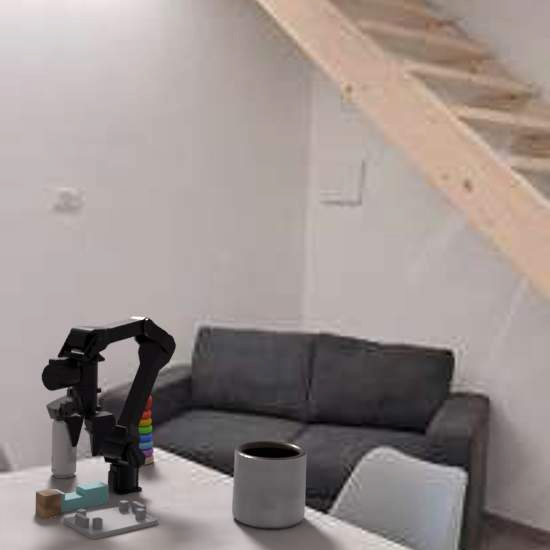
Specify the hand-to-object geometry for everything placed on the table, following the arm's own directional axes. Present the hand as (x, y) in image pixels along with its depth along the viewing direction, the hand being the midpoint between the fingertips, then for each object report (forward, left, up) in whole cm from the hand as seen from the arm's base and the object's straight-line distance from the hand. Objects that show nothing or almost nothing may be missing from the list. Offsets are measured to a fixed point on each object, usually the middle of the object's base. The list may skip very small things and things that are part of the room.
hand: (84, 451), depth 214 cm
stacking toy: (-29, -22, -12) cm, 38 cm away
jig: (+2, +15, -12) cm, 19 cm away
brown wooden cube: (+10, +2, -12) cm, 16 cm away
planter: (-28, +31, -12) cm, 44 cm away
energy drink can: (-7, -22, -12) cm, 26 cm away
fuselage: (+1, 0, -12) cm, 12 cm away
